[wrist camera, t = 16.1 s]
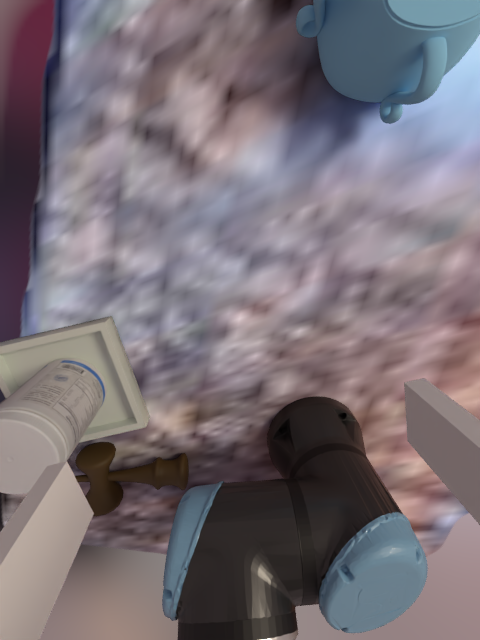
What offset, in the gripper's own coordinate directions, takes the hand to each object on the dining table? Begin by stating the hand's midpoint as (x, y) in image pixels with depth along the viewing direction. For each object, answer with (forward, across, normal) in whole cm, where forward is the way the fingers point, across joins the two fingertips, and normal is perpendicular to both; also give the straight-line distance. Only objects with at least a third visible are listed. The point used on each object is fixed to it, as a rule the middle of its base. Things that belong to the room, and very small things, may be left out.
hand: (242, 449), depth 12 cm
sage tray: (+32, +25, +9) cm, 41 cm away
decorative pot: (+32, -23, -24) cm, 46 cm away
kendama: (+32, +23, +25) cm, 47 cm away
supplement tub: (+31, +25, +9) cm, 41 cm away
